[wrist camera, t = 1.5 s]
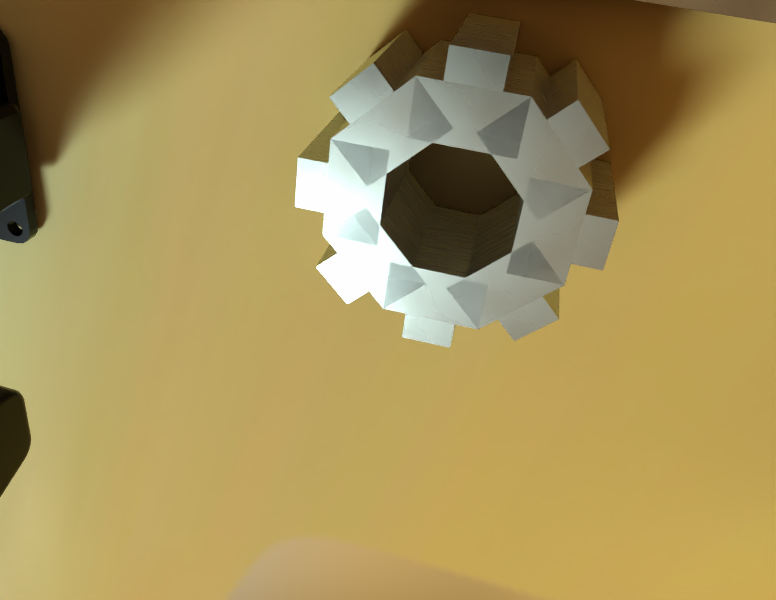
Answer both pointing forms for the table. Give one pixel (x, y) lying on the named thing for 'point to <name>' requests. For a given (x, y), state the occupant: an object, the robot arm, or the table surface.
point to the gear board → (728, 7)
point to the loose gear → (451, 227)
